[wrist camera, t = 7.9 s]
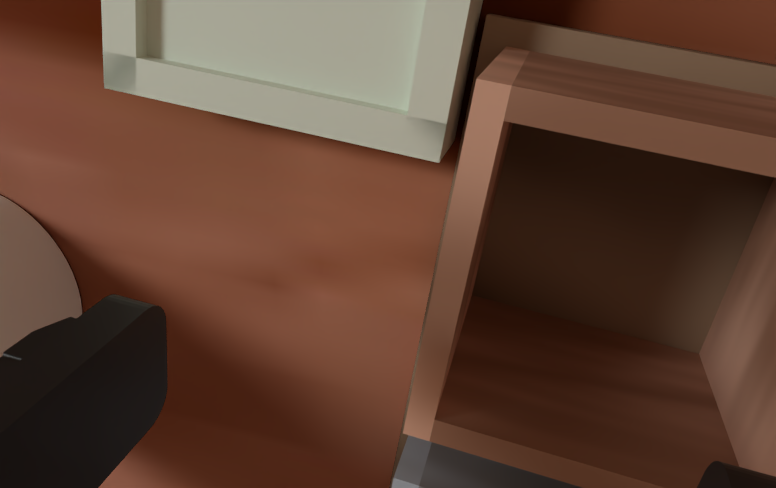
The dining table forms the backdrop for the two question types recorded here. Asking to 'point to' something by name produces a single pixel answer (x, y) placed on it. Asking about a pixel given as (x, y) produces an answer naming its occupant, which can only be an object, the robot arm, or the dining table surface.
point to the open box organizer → (600, 271)
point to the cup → (31, 277)
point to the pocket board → (303, 64)
